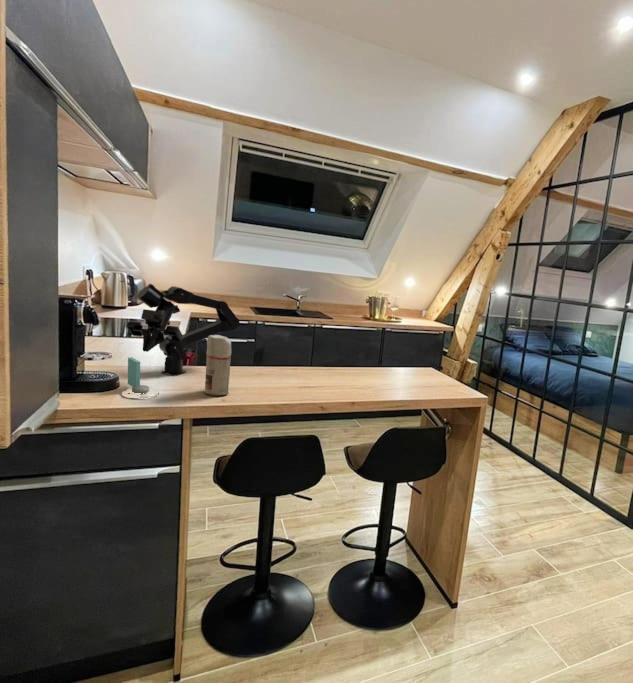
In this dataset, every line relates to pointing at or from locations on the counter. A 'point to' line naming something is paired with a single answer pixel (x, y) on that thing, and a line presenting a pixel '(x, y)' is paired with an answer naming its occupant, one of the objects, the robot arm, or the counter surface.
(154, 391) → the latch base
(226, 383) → the spray can
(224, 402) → the counter surface
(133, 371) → the teal panel
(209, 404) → the counter surface
